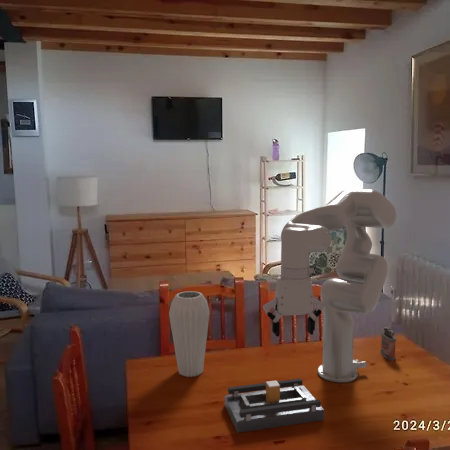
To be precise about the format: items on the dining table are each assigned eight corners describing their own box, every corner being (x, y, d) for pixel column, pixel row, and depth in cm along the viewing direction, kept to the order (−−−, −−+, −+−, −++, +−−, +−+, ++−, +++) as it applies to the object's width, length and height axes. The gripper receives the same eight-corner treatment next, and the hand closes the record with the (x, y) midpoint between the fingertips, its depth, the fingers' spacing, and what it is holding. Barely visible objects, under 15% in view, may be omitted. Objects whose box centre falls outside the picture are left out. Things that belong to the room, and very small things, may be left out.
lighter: (378, 351, 169) (379, 324, 168) (387, 350, 170) (388, 324, 168) (388, 360, 161) (389, 332, 160) (397, 359, 162) (398, 332, 160)
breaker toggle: (276, 398, 130) (276, 380, 129) (279, 403, 127) (279, 385, 126) (265, 399, 129) (265, 381, 129) (269, 405, 126) (269, 386, 126)
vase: (205, 382, 147) (204, 301, 143) (165, 379, 149) (163, 299, 146) (214, 364, 160) (213, 289, 156) (177, 361, 162) (175, 288, 159)
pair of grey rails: (300, 385, 138) (300, 378, 137) (320, 410, 124) (321, 402, 124) (227, 394, 133) (227, 387, 132) (241, 421, 119) (241, 413, 119)
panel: (303, 394, 138) (303, 379, 137) (323, 420, 125) (324, 402, 124) (224, 405, 133) (224, 388, 132) (237, 432, 119) (237, 414, 119)
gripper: (319, 269, 131) (318, 327, 133) (260, 271, 128) (259, 331, 130) (330, 274, 124) (328, 337, 126) (267, 277, 121) (266, 340, 123)
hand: (293, 333), depth 128 cm, fingers open, 9 cm apart
